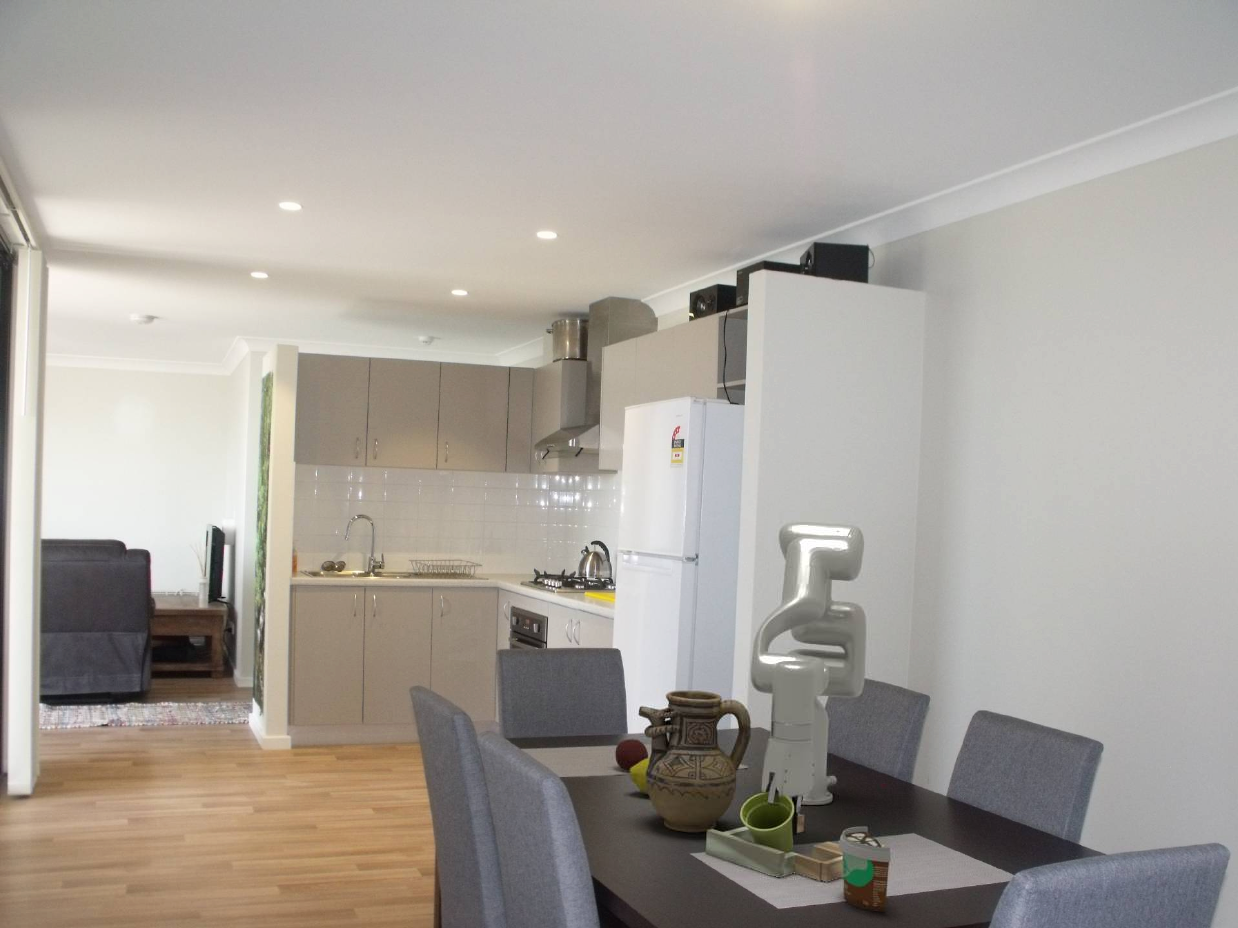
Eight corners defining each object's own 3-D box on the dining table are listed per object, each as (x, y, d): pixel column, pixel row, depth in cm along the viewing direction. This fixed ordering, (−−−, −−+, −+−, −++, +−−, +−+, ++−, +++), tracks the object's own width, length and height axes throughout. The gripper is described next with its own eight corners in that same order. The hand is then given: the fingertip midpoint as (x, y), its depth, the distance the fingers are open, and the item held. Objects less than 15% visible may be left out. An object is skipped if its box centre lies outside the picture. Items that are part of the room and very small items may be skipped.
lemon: (679, 792, 239) (681, 754, 240) (680, 801, 231) (682, 762, 232) (629, 789, 240) (631, 751, 240) (628, 798, 232) (630, 759, 232)
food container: (827, 886, 183) (829, 824, 183) (863, 887, 184) (866, 825, 184) (848, 913, 171) (851, 847, 171) (888, 914, 171) (891, 848, 172)
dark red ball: (609, 767, 259) (611, 736, 260) (639, 765, 263) (641, 735, 263) (622, 774, 253) (624, 743, 253) (653, 773, 256) (655, 741, 256)
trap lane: (797, 829, 216) (798, 808, 216) (897, 858, 200) (898, 836, 200) (705, 853, 197) (706, 830, 197) (807, 888, 181) (808, 863, 182)
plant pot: (774, 876, 192) (765, 838, 188) (738, 849, 199) (729, 812, 196) (813, 846, 196) (805, 808, 193) (777, 821, 204) (768, 783, 200)
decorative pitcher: (740, 816, 223) (746, 690, 224) (752, 843, 205) (758, 705, 206) (631, 811, 222) (638, 684, 223) (633, 837, 205) (640, 699, 206)
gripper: (799, 722, 209) (794, 821, 208) (749, 732, 198) (744, 836, 198) (833, 730, 203) (828, 831, 203) (783, 740, 193) (778, 847, 192)
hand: (787, 833), depth 200 cm, fingers closed
